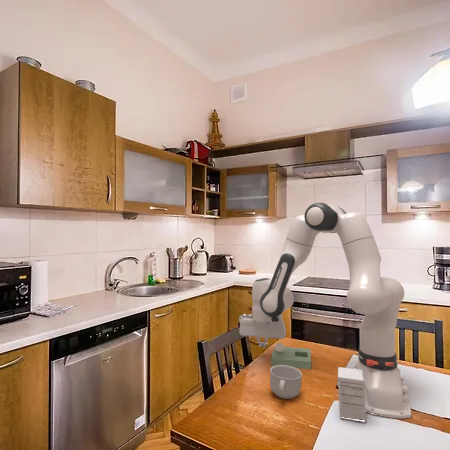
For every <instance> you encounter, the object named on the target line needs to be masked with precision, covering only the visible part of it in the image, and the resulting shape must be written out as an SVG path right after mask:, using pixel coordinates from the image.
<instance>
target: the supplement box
mask: <svg viewBox="0 0 450 450" xmlns="http://www.w3.org/2000/svg"><path fill="white" fill-rule="evenodd" d="M337 384H338V385H337V388H338V407H339V418H340V417H344V418H351V419H359V420H365V421H366V422H367V415H366V413H367V412H365V391H364V378H363V371H362V370H361V369H354V368H352V367H351V368H350V367H340V366H338V367H337Z"/></svg>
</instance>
